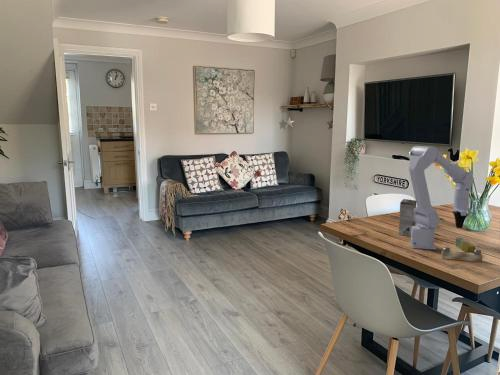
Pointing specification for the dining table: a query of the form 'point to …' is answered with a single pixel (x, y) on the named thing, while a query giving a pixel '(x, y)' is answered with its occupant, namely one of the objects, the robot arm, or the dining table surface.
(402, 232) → the coffee box
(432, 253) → the dining table surface
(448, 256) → the bench stop
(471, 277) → the dining table surface
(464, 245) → the medication box
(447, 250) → the bench dogs
